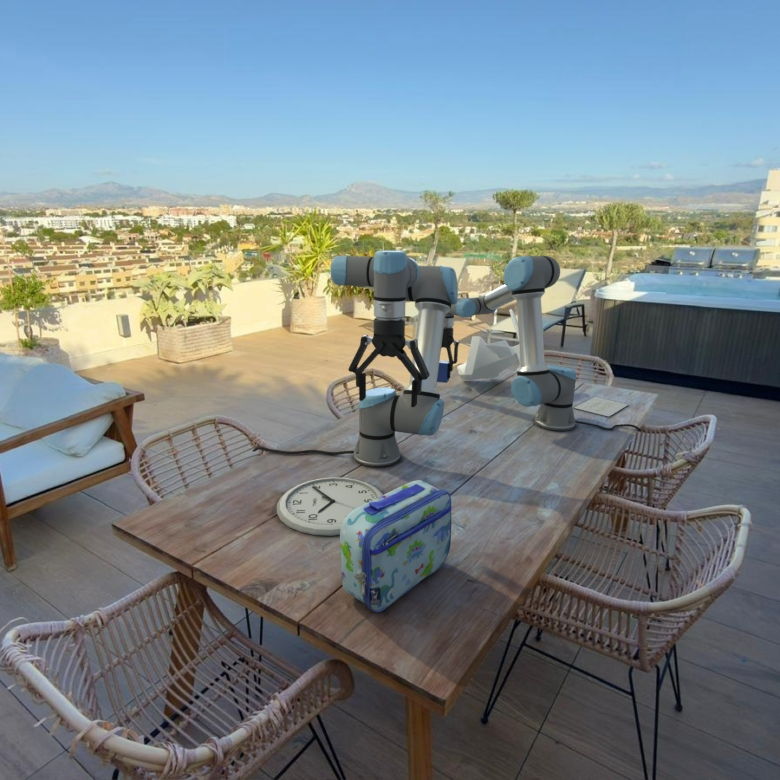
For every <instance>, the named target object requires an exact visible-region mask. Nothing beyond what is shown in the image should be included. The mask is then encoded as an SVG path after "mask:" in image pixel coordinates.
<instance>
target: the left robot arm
mask: <svg viewBox="0 0 780 780" xmlns="http://www.w3.org/2000/svg"><path fill="white" fill-rule="evenodd" d="M329 271H330V272H329V273H330V279H331V281H332V282H333V284H334V285H337V286H343V287H355V288H362V289H368V290H371V291H373V316H374V317H375V318H374V319H373V329H372V330H373V336H369V335H368V334H365V335H363V336H361V337H360V341H359V347H358V348H357V351H356V353H355V355H354V357H353V359H352V361H351V362H350V365H349V367H348V368H347V369H348V372H351V373H354V374H355V386H356V388H358V401H359V404H358V438H357V440H356V443H355V447H354V449H353V450H342V451H341V450H340V451H327V450H322V449H304V450H293V451H292V450H281V449H273V448H268V447H265V446H256V447H254V448H253V449H252V452H256V451H258V450H261V451H264V452H267V453H268V452H269V453H277V454H283V455H301V454H322V455H330V456H336V455H337V456H338V455H350V454H353V460H354V461H355V462H356V463H358V464H359V465H361V466H364V467H370V468H385V467H389V466H393V465H394V464H396V463H398V462H399V460H400V459H401V453H400V448H399V445H398V442H397V439H396V432H397V433H404V434H411V435H417V436H429V437H431V436H434V435H436V433H437V432H438V430H439V428H440V425H441V424H442V420H443V416H444V412H445V411H444V410H445V401H444V400H443V399H442V398H441V392H439V391H438V389H437V385H438V384H437V383H438V382H437V377H438V369H439V361H440V359H441V352H442V348H441V345H442V337H443V329H444V321H445V315H446V314H447V313H448V312H449V311H450V310H451V305H454V304H456V303H457V299H458V298H459V290H458V289H459V288H458V286H459V285H458V277H457V272H456V270H455V269H454V268H453V267H451V266H443V265H419V264H418V263H417V261H416V260H415V259H413V258H411V257H408V256H407V253H406V252H405V251H402V250H377V251H376V252H375V253H374V256H359V255H347V254H345V255H337V256H334V257H333V258H332V260H331V262H330V269H329ZM406 302H414V307H415V309H416V310H417V311H418V315H417V322H416V329H415V336H414V339H406V337H405V335H406V328H405V327H406V320H405V319H404V317H405V316H406ZM370 344H372V345H373V347H374V349H373V350H372V352H371V353H370V354H369V355H368V357H367V358H365V360H364V361H363V362H362V363H361V364H360V362H361V360H362V358H363V356H364V354H365V352H366V350H367V348H368V346H369V345H370ZM406 346H407V348H408V350H410V353H411V355H412V360H411V359H410V357H409V356H408V355H407V352H406V351H405V349H404V348H405V347H406ZM379 355H380V356H381V357H389V358H395V357H396V358H397V359H398V360H399V361H400V362H401V363H402V365H403V366H404V367H405V369H406V370H407V371H408V373H409V374H410V376H409V383H408V385H407V386H406V387H404V388H403V392H402V395H401V394H400V395H399V394H397V391H396V389H395V388H392V387H375V388H371V389H368V390H367V373H365V372H364V371H365V370H366V369H367V368H368V367H369V366H370V365H371V363H372V362H373V361H374V360H375V359H376V358H377V357H378V356H379ZM359 364H360V366H359Z"/></svg>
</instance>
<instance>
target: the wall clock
mask: <svg viewBox="0 0 780 780" xmlns="http://www.w3.org/2000/svg"><path fill="white" fill-rule="evenodd" d="M384 494H385V493H383V492H382V491H381V490H380V489H379V488H377V487H376V486H374V485H372V484H371V483H369V482H365V481H362V480H359V479H355V478H349V477H338V476H337V477H335V476H333V477H332V476H331V477H322V478H317V479H312V480H307V481H305V482H302V483H299V484H297V485H295V486H293V487H292V488H290V489H288V490H287V491H286V492H285V493H284V494H283V495H281V496H280V498H279V499H278V502H277V503H276V515H277V517H278V518H279V520H280V521H281V522H282V523H283V524H285V525H286V526H287V527H288V528H290V529H293V530H295V531H297V532H299V533H303V534H308V535H312V536H327V537H328V536H329V537H331V536H332V537H333V536H340V530H341V526H342V523H343V521H344V519H345V518H346V516H347V515H348V514H349V513H350V512H351V511H353V510H354V509H356V508H358V507H360V506H362V505H364V504H366V503H368V502H370V501H372V500H374V499H376V498H378V497H380V496H382V495H384Z"/></svg>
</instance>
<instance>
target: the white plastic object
mask: <svg viewBox="0 0 780 780" xmlns="http://www.w3.org/2000/svg"><path fill="white" fill-rule="evenodd" d="M508 311H509V314H510V317H511V320H512V324H513V327H514V330H515V333H516V337H517V340H518V341H519V331H518V318H517V316H516V313H515V312H514V310H513V309H512V308H510V309H508ZM517 362H519V367H520V366H521V361H520V346H519V343H518V344H516V345H514V346H512V345H510V344H509V343H508V341H507V340H506V339H503V340H499V341H493V342H490V343H487V342H486V341H485V340H484V339H483V337H482V336H481V335H472V337H471V340H470V345H469V350H468V355H467V359H466V361H465V362H464V363H462V364H459V365H457V366H456V368H457V372H458V376H459V377H460V379H461V380H462V381H473V380H480V379H490V380H492V379H496V378H497V377H498V378H499V377H500V374H502V372H504V371H506V370H507V369H508V368H510V367H511V366H512V365H514V364H515V363H517Z"/></svg>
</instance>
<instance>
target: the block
mask: <svg viewBox="0 0 780 780" xmlns="http://www.w3.org/2000/svg"><path fill="white" fill-rule="evenodd" d="M448 364H449V360H440V361H439V369H438V377H437V383H442V384H443V383H445V384H446V383H447V384H448V382H449V381H450V378H449V379H447V377H448Z"/></svg>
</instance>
